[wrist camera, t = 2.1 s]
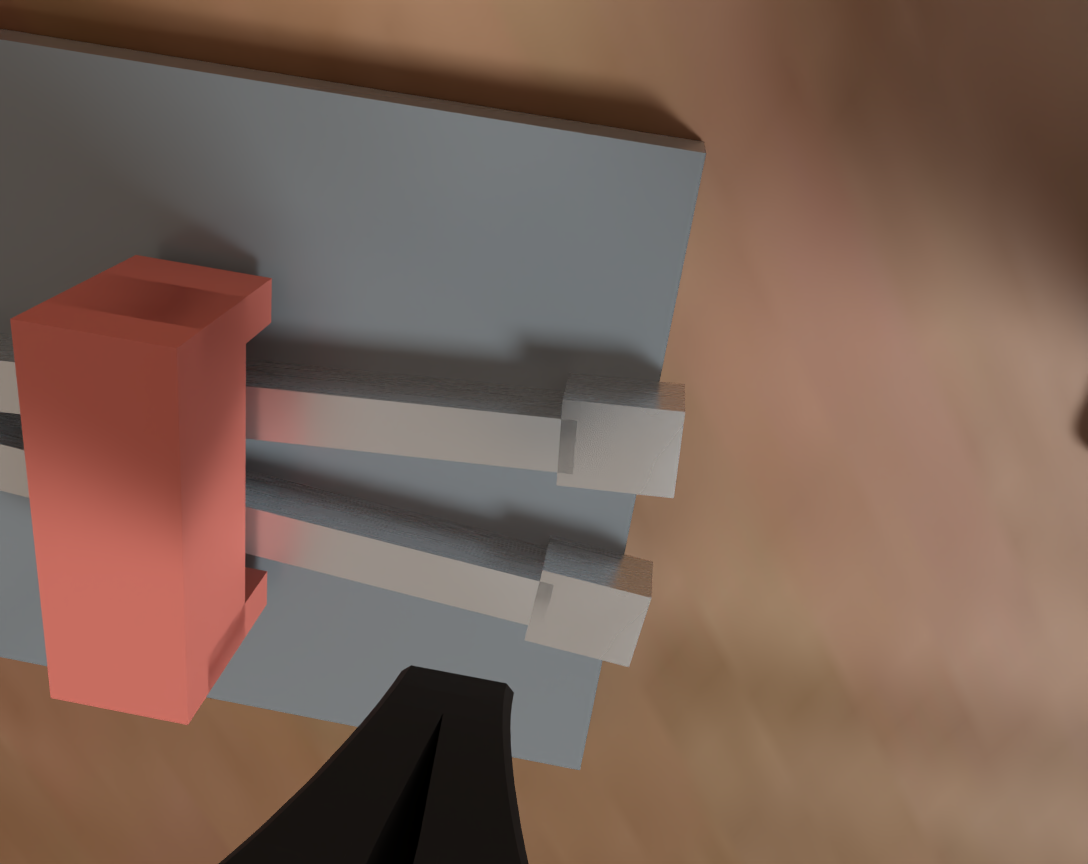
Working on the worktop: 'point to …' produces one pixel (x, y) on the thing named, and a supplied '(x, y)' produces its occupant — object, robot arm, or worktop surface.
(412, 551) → the tongs
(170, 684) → the red block
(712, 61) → the worktop surface
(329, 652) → the slate board
